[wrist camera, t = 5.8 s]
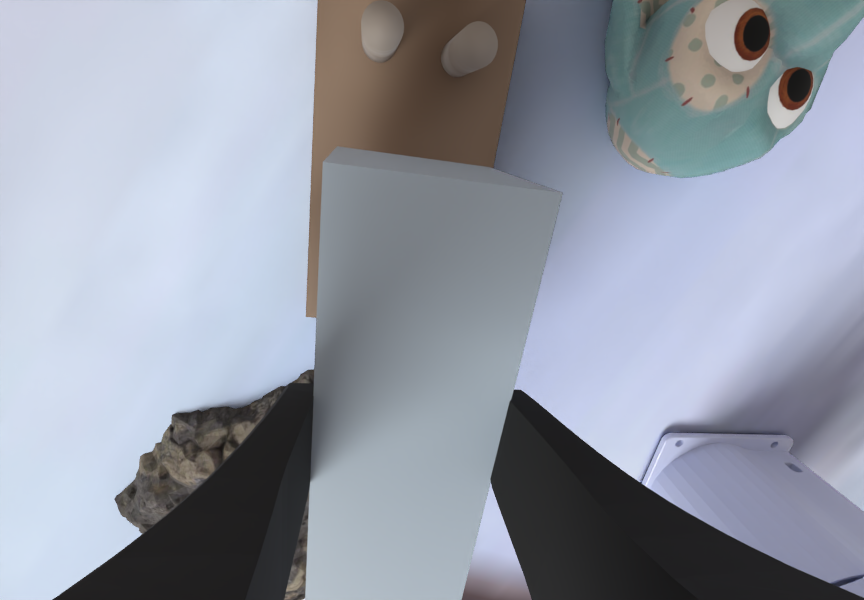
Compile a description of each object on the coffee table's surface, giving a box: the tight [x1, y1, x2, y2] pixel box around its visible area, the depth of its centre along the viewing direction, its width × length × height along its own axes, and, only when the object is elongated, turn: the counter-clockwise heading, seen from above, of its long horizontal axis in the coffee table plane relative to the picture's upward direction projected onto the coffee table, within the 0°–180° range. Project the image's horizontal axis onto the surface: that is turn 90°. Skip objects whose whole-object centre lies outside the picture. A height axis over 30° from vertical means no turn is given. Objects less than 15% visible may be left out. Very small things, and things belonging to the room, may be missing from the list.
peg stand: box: [306, 0, 526, 318], centre depth 15 cm, size 7×13×4 cm, turn 171°
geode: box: [115, 370, 314, 600], centre depth 22 cm, size 19×4×15 cm
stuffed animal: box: [605, 0, 864, 178], centre depth 14 cm, size 11×7×12 cm
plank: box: [305, 146, 563, 600], centre depth 12 cm, size 4×12×5 cm, turn 172°
